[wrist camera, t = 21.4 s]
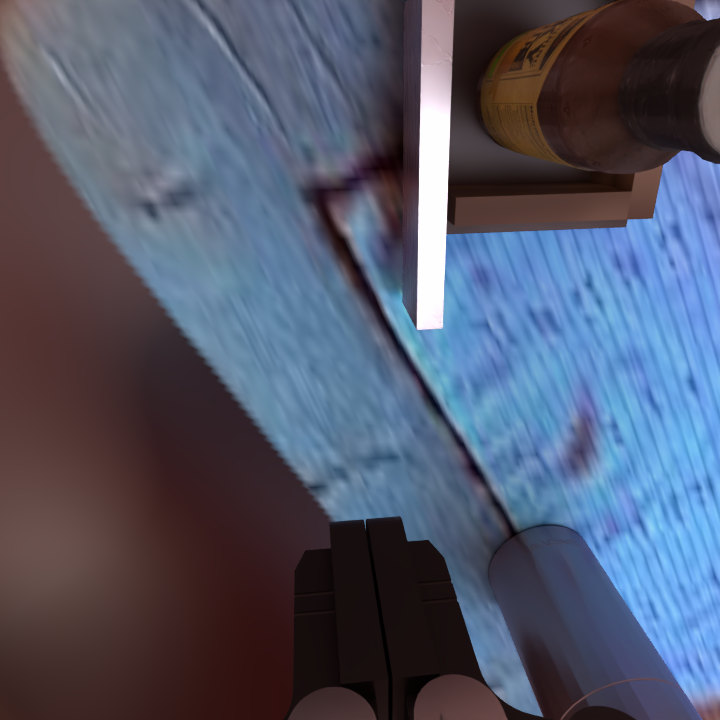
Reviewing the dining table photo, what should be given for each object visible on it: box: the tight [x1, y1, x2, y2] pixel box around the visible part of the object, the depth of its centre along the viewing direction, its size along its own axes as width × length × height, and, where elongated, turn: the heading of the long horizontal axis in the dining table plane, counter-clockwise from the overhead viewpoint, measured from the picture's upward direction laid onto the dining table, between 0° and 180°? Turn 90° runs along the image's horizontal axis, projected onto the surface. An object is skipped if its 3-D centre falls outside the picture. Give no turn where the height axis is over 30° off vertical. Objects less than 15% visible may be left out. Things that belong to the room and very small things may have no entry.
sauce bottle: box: [475, 0, 720, 174], centre depth 24 cm, size 6×6×20 cm
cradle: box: [446, 0, 695, 234], centre depth 31 cm, size 16×14×6 cm
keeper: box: [402, 0, 455, 330], centre depth 30 cm, size 19×2×6 cm, turn 2°
